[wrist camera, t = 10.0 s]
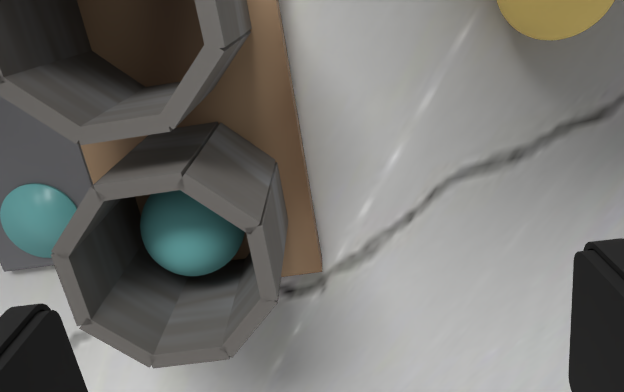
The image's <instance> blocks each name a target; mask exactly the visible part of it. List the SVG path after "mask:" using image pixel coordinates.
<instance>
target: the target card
mask: <svg viewBox="0 0 624 392" xmlns="http://www.w3.org/2000/svg"><path fill="white" fill-rule="evenodd" d="M92 185H93V182H92V179H91V176H90V173H89V170H88V167H87V164H86V161H85V158H84V155H83V152H82V148H81V145H80V142H79V143H78V144H75V143H73V142H72V141H70V140H69V139H67V138H66V137H64V136H62V135H61V134H59V133H58V132H56V131H55V130H53V129H51V128H50V127H48V126H47V125H45V124H44V123H42V122H40V121H39V120H37V119H36V118H34V117H33V116H31V115H29V114H28V113H26V112H25V111H23V110H22V109H20V108H19V107H17V106H15V105H14V104H12V103H11V102H9V101H8V100H6V99H4V98H3V97H1V96H0V263H1V265H2V268H3V270H4V272H5V271H12V270H20V269H27V268H34V267H42V266H49V265H54V263H53V260H52V257H51V254H52V252H51V250H52V249H53V247H54V246H55V244H56V242H57V241H58V239H59V237H60V236H61V234H62V233H63V231H64V229H65V228H66V226H67V224H68V223H69V221H70V220H71V218H72V216H73V215H74V213H75V211H76V210H77V208H78V207H79V205H80V203H81V202H82V200H83V198H84V197H85V195H86V194H87V192H88V190H89V189H90V187H91V186H92Z"/></svg>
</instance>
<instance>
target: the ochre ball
mask: <svg viewBox="0 0 624 392" xmlns="http://www.w3.org/2000/svg"><path fill="white" fill-rule="evenodd" d="M613 2H614V0H497V3H498V6H499V8H500V11H501V13H502V14H503V16H504V18H505V19H506V20H507V22H508V23H509V24H510V25H511V26H512V27H513V28H514V29H516V30H517V31H519V32H520V33H522V34H524V35H526V36H528V37H531V38H534V39H539V40H560V39H565V38H569V37H572V36H575V35H577V34H579V33H581V32H583V31H585V30H587V29H588V28H590V27H591V26H593V25H594V24H595V23H596V22H598V21H599V20H600V19H601V18H602V17H603V16H604V15H605V13H606V12H607V11H608V10H609V8H610V7H611V5H612V4H613Z"/></svg>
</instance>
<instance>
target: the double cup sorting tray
mask: <svg viewBox="0 0 624 392" xmlns="http://www.w3.org/2000/svg"><path fill="white" fill-rule="evenodd" d="M0 96H1V97H3V98H4V99H6V100H8V101H9V102H11V103H12V104H14V105H15V106H17V107H19V108H20V109H22V110H23V111H25V112H26V113H28V114H29V115H31V116H33V117H34V118H36V119H37V120H39V121H40V122H42V123H44V124H45V125H47V126H48V127H50V128H51V129H53V130H55V131H56V132H58V133H59V134H61V135H62V136H64V137H66V138H67V139H69V140H70V141H72V142H73V143H75V144H78V143H79V142H80V145H81V148H82V152H83V155H84V158H85V161H86V164H87V167H88V170H89V173H90V176H91V179H92V182H93V185H92V186H91V187H90V189H89V190H88V192H87V194H86V195H85V197H84V198H83V200H82V202H81V203H80V205H79V207H78V208H77V210H76V211H75V213H74V215H73V216H72V218H71V220H70V221H69V223H68V224H67V226H66V228H65V229H64V231H63V233H62V234H61V236H60V237H59V239H58V241H57V242H56V244H55V246H54V247H53V249H52V250H51V252H52V254H51V257H52V260H53V263H54V266H55V268H56V271H57V274H58V276H59V279H60V282H61V284H62V287H63V290H64V292H65V295H66V298H67V300H68V303H69V306H70V308H71V311H72V314H73V316H74V319H75V322H76V324H77V326H80V325H82V326H81V327H80V328H79V329H81V330H83V331H85V332H87V333H88V334H90V335H92V336H94V337H96V338H97V339H99V340H101V341H103V342H105V343H106V344H108V345H110V346H112V347H113V348H115V349H117V350H119V351H121V352H122V353H124V354H126V355H128V356H130V357H131V358H133V359H135V360H137V361H138V362H140V363H142V364H144V365H146V366H147V367H149V368H150V366H151V365H152V367H153V368H160V367H168V366H176V365H185V364H193V363H201V362H210V361H218V360H226V359H229V358H230V357H233V356H234V355H235V354H236V352H237V351H238V350H239V349H240V348H241V346H242V345H243V344H244V343H245V342H246V340H247V339H248V338H249V337H250V335H251V334H252V333H253V332H254V331H255V329H256V328H257V327H258V326H259V325H260V323H261V322H262V321H263V320H264V319H265V317H266V316H267V315H268V314H269V313H270V311H271V310H272V309H273V308H274V306H275V305H276V304H277V300H278V295H279V288H280V280H281V277H285V276H293V275H301V274H308V273H316V272H322V256H321V250H320V245H319V239H318V233H317V227H316V221H315V215H314V209H313V203H312V197H311V191H310V185H309V179H308V174H307V168H306V162H305V156H304V150H303V144H302V138H301V132H300V126H299V120H298V114H297V109H296V103H295V97H294V91H293V85H292V79H291V73H290V67H289V61H288V55H287V49H286V43H285V38H284V32H283V26H282V20H281V14H280V8H279V2H278V0H0ZM177 190H181V191H182V192H184V193H185V194H187V195H189V196H190V197H192V198H193V199H195V200H196V201H198V202H199V203H201V204H203V205H204V206H206V207H207V208H209V209H210V210H212V211H213V212H215V213H216V214H218V215H220V216H221V217H223V218H224V219H226V220H227V221H229V222H230V223H232V224H233V225H235V226H237V227H238V228H240V229H241V230H243V231H244V232H245V234H244V238H243V241H242V244H241V246H240V248H239V250H238V251H237V253H236V254H235V256H234V257H233V258H232V259H231V260H230V261H229V262H228V263H227V264H226V265H225V266H223V267H221V268H220V269H218V270H216V271H214V272H212V273H209V274H206V275H201V276H184V275H179V274H176V273H173V272H171V271H168V270H167V269H165V268H163V267H162V266H160V265H159V264H158V263H157V262H156V261H155V260H154V259H153V258H152V257H151V256H150V254H149V253H148V251H147V249H146V248H145V245H144V243H143V240H142V236H141V229H140V221H141V215H142V211H143V208H144V205H145V203H146V201H147V199H148V198H149V196H150V195H151V194H156V193H163V192H170V191H177Z"/></svg>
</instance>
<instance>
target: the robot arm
mask: <svg viewBox="0 0 624 392" xmlns="http://www.w3.org/2000/svg"><path fill="white" fill-rule="evenodd" d="M569 383H570V387H571V391H572V392H624V239H612V240H603V241H594V242H588V243H587V244H586V245H585V247H584V251H580V252H577V253H576V254H575V257H574V269H573V291H572V312H571V334H570V355H569ZM0 392H88V390H87V388H86V385H85V382H84V380H83V377H82V374H81V371H80V369H79V366H78V363H77V361H76V358H75V355H74V352H73V350H72V347H71V344H70V342H69V339H68V336H67V334H66V331H65V328H64V325H63V323H62V320H61V317H60V315H59V314H58V313H57V312H56V311H54V310H50V308H49V307H48V306H47V305H45V304H34V305H25V306H16V307H11V308H9V309H8V310H7V311H6V312H5V313H4V314H3V315H2V316H1V317H0Z"/></svg>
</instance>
